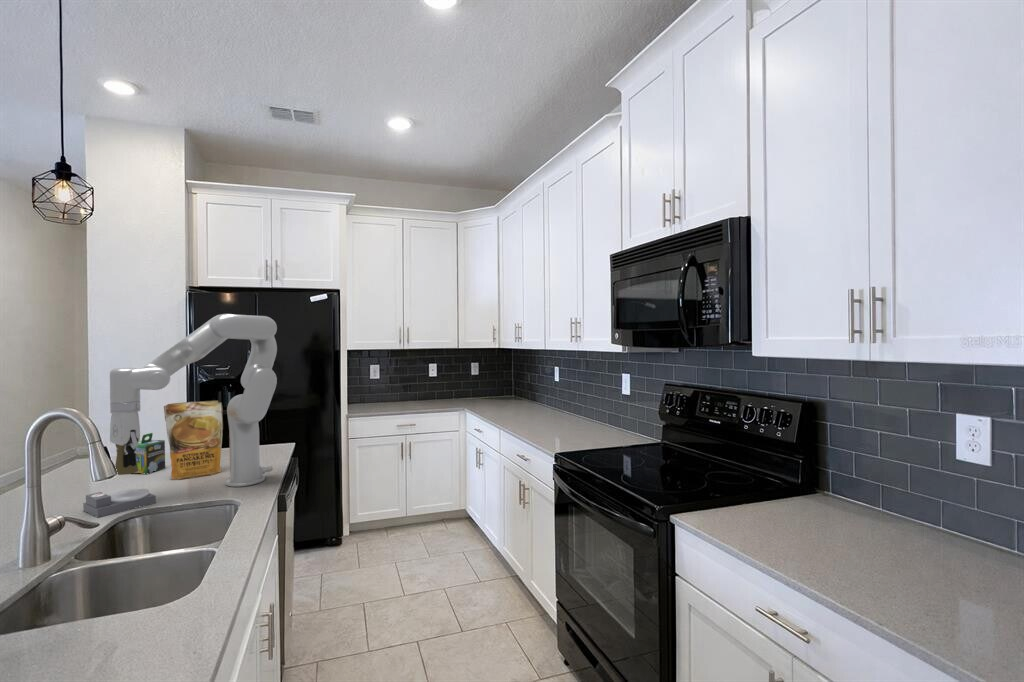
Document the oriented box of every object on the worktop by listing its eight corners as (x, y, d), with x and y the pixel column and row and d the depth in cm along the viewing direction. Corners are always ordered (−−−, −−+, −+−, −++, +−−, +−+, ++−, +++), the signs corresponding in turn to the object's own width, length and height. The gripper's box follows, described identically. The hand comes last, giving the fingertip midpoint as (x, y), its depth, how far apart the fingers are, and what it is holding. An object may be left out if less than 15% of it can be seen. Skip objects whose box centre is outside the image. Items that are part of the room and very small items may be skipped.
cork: (143, 469, 162) (142, 435, 161) (126, 475, 156) (126, 439, 155) (125, 469, 162) (125, 435, 162) (108, 474, 156) (108, 439, 156)
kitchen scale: (140, 497, 167) (140, 481, 167) (155, 502, 161) (155, 486, 161) (83, 510, 154) (83, 493, 154) (97, 517, 148) (97, 499, 148)
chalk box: (146, 467, 204) (145, 431, 204) (166, 468, 203) (165, 431, 203) (125, 474, 195) (124, 435, 195) (146, 474, 194) (145, 436, 194)
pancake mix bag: (165, 477, 189) (163, 403, 188) (223, 469, 200) (222, 398, 200) (165, 482, 184) (163, 405, 183) (225, 473, 195) (224, 400, 194)
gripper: (100, 406, 160) (101, 464, 160) (122, 410, 151) (123, 472, 151) (128, 404, 166) (129, 459, 166) (151, 407, 157) (152, 466, 157)
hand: (126, 464), depth 159 cm, fingers closed on cork, 3 cm apart
